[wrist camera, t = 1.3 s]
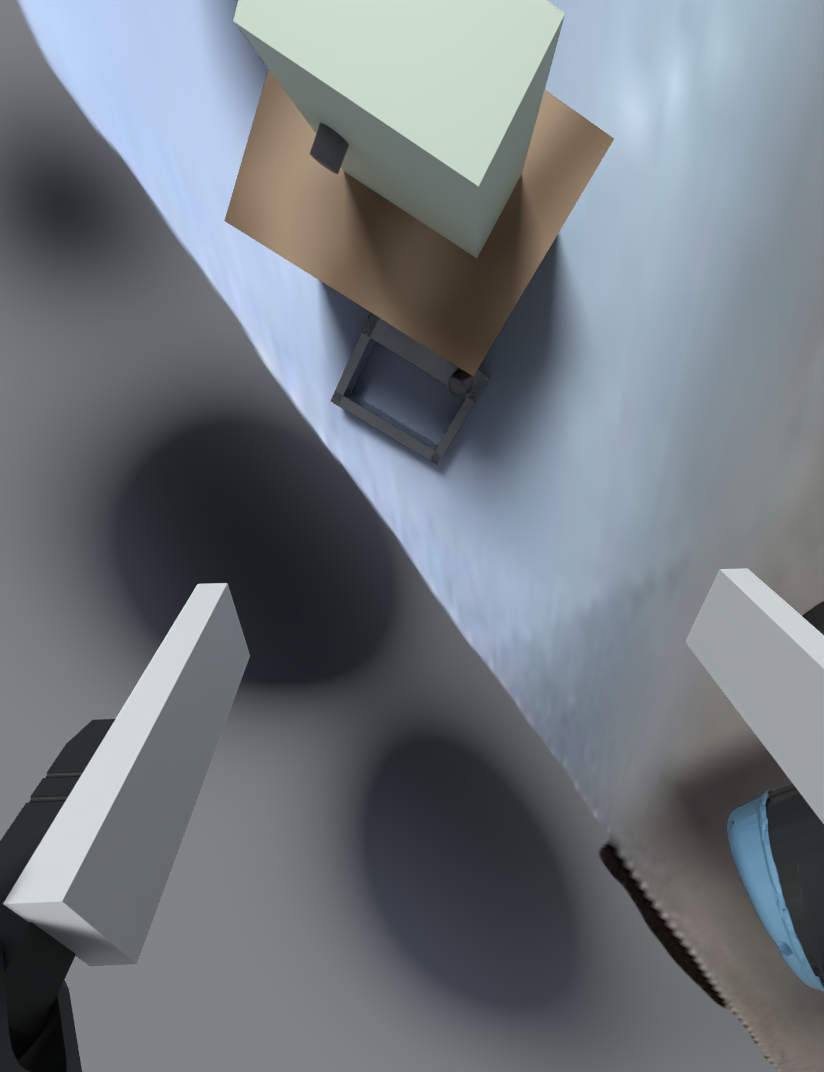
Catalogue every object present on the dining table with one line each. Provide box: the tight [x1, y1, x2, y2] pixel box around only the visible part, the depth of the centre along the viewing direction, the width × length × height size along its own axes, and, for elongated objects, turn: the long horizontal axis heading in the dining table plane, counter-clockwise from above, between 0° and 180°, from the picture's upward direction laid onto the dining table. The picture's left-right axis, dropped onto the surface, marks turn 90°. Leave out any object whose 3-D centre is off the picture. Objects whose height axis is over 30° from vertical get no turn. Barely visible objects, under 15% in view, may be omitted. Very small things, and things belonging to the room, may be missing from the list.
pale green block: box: [233, 0, 565, 258], centre depth 17 cm, size 8×5×11 cm, turn 60°
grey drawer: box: [331, 313, 490, 465], centre depth 34 cm, size 11×9×12 cm
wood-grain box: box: [225, 69, 614, 376], centre depth 29 cm, size 16×12×15 cm
